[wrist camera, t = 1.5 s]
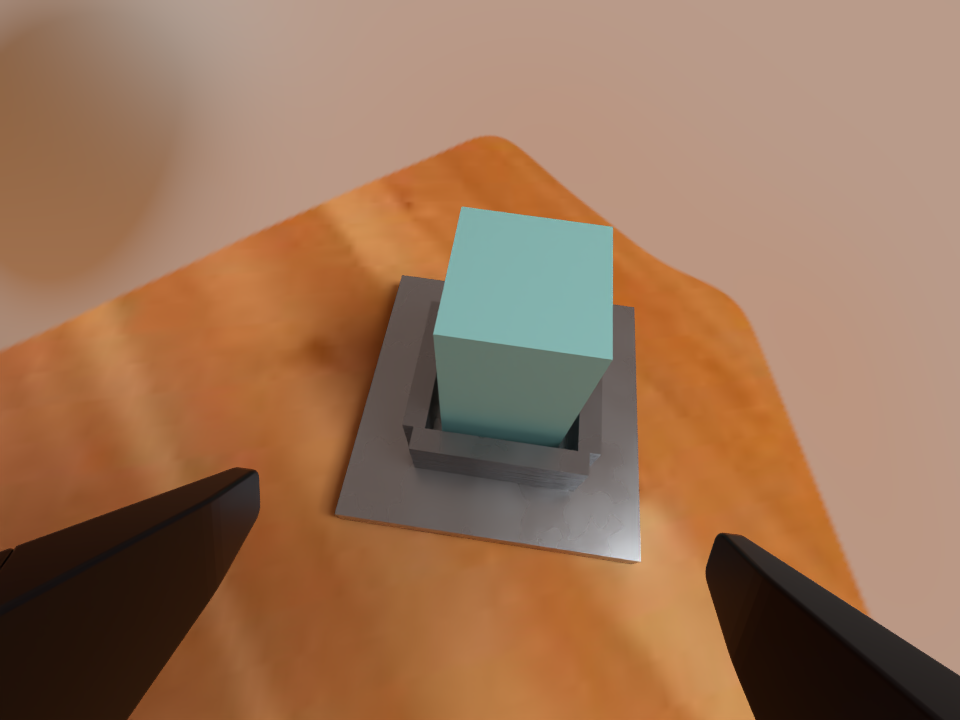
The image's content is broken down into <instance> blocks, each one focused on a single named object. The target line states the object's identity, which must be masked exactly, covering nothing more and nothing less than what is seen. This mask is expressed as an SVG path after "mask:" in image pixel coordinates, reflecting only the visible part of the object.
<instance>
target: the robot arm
mask: <svg viewBox="0 0 960 720" xmlns="http://www.w3.org/2000/svg"><path fill="white" fill-rule="evenodd" d="M259 510H260V489H259V475H258V472H257V471H256V470H253V469H246V468H239V467H236V468H232V469H229V470H226V471H224V472H221V473H218V474H215V475H212V476H210V477H207V478H204V479H201V480H199V481H196V482H193V483H190V484H187V485H185V486H182V487H179V488H176V489H174V490H171V491H168V492H165V493H162V494H160V495H157V496H154V497H151V498H149V499H146V500H143V501H140V502H137V503H135V504H132V505H129V506H126V507H124V508H121V509H118V510H115V511H112V512H110V513H107V514H104V515H101V516H99V517H96V518H93V519H90V520H87V521H85V522H82V523H79V524H76V525H74V526H71V527H68V528H65V529H62V530H60V531H57V532H54V533H51V534H49V535H46V536H43V537H40V538H37V539H35V540H32V541H29V542H26V543H24V544H21V545H18V546H16V547H15V549H14V550H13V549H11V548H10V549H6V550H4V551H1V552H0V720H127V719H128V718H129V716H130V715H131V713H132V712H133V710H134V709H135V708H136V706H137V705H138V703H139V702H140V700H141V699H142V697H143V696H144V695H145V693H146V692H147V690H148V689H149V687H150V686H151V685H152V683H153V682H154V680H155V679H156V677H157V676H158V674H159V673H160V672H161V670H162V669H163V667H164V666H165V664H166V663H167V661H168V660H169V659H170V657H171V656H172V654H173V653H174V651H175V650H176V648H177V647H178V646H179V644H180V643H181V641H182V640H183V638H184V637H185V635H186V634H187V633H188V631H189V630H190V628H191V627H192V625H193V624H194V622H195V621H196V620H197V618H198V617H199V615H200V614H201V612H202V611H203V609H204V608H205V607H206V605H207V604H208V602H209V601H210V599H211V598H212V596H213V595H214V593H215V592H216V590H217V589H218V587H219V585H220V584H221V582H222V580H223V579H224V577H225V575H226V573H227V571H228V570H229V568H230V566H231V564H232V562H233V561H234V559H235V557H236V555H237V553H238V552H239V550H240V548H241V546H242V544H243V543H244V541H245V539H246V537H247V535H248V534H249V532H250V530H251V528H252V526H253V525H254V523H255V521H256V519H257V517H258V514H259ZM706 580H707V584H708V587H709V591H710V594H711V597H712V600H713V604H714V607H715V610H716V613H717V617H718V620H719V623H720V626H721V630H722V633H723V636H724V639H725V643H726V646H727V649H728V652H729V655H730V658H731V661H732V663H733V666H734V668H735V671H736V674H737V676H738V679H739V681H740V683H741V686H742V688H743V691H744V693H745V695H746V698H747V700H748V703H749V705H750V707H751V710H752V712H753V715H754V717H755V719H756V720H960V676H959V675H958V674H956V673H955V672H953V671H951V670H950V669H948V668H947V667H945V666H944V665H942V664H941V663H939V662H938V661H936V660H934V659H933V658H931V657H930V656H928V655H927V654H925V653H924V652H922V651H920V650H919V649H917V648H916V647H914V646H913V645H911V644H910V643H908V642H906V641H905V640H904V639H902V638H900V637H899V636H897V635H896V634H894V633H893V632H891V631H890V630H888V629H886V628H885V627H883V626H882V625H880V624H879V623H877V622H876V621H874V620H873V619H871V618H869V617H868V616H866V615H865V614H863V613H862V612H860V611H859V610H857V609H855V608H854V607H852V606H851V605H849V604H848V603H846V602H845V601H843V600H842V599H840V598H838V597H837V596H835V595H834V594H832V593H831V592H829V591H828V590H826V589H825V588H823V587H821V586H820V585H818V584H817V583H815V582H814V581H812V580H811V579H809V578H807V577H806V576H804V575H803V574H801V573H800V572H798V571H797V570H795V569H794V568H792V567H790V566H789V565H787V564H786V563H784V562H783V561H781V560H780V559H778V558H776V557H775V556H773V555H772V554H770V553H769V552H767V551H766V550H764V549H763V548H761V547H759V546H758V545H756V544H755V543H753V542H752V541H750V540H749V539H747V538H746V537H744V536H741V535H737V534H729V533H720V534H718V535H717V536H716V538H715V540H714V544H713V547H712V550H711V553H710V556H709V559H708V562H707V565H706Z"/></svg>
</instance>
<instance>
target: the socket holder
mask: <svg viewBox="0 0 960 720" xmlns="http://www.w3.org/2000/svg"><path fill="white" fill-rule="evenodd" d="M444 283H445V281H440V280H433V279H426V278H418V277H411V276H404V275H402V278H401V281H400V285H399V288H398V292H397V295H396V299H395V302H394V306H393V310H392V313H391V317H390V320H389V324H388V327H387V331H386V334H385V338H384V341H383V345H382V348H381V352H380V355H379V359H378V363H377V366H376V370H375V373H374V377H373V380H372V384H371V387H370V391H369V394H368V398H367V401H366V405H365V408H364V412H363V416H362V419H361V423H360V426H359V430H358V433H357V437H356V440H355V444H354V447H353V451H352V454H351V458H350V462H349V465H348V469H347V472H346V476H345V479H344V483H343V486H342V490H341V493H340V497H339V500H338V504H337V507H336V511H335V515H336V516H338V517H339V518H340V519H347V520H353V521H359V522H366V523H372V524H379V525H385V526H391V527H398V528H404V529H411V530H417V531H423V532H430V533H436V534H443V535H449V536H456V537H462V538H468V539H475V540H481V541H488V542H494V543H500V544H507V545H513V546H520V547H526V548H533V549H539V550H545V551H552V552H558V553H565V554H571V555H577V556H584V557H590V558H597V559H603V560H609V561H616V562H622V563H629V564H634V563H638V562H641V547H640V510H639V472H638V434H637V396H636V358H635V321H634V307H627V306H620V305H613V360H612V362H611V363H610V365H609V366H608V368H607V370H606V371H605V373H604V374H603V376H602V378H601V379H600V381H599V382H598V384H597V386H596V387H595V389H594V390H593V392H592V394H591V395H590V397H589V398H588V400H587V402H586V403H585V405H584V406H583V408H582V410H581V411H580V413H579V414H578V416H577V418H576V419H575V421H574V422H573V424H572V426H571V427H570V429H569V430H568V432H567V434H566V435H565V437H564V438H563V440H562V442H561V443H560V445H559V446H558V448H554V447H547V446H540V445H534V444H527V443H520V442H513V441H507V440H500V439H493V438H487V437H480V436H473V435H466V434H460V433H453V432H446V431H442V424H441V413H440V403H439V392H438V381H437V370H436V359H435V349H434V338H433V333H434V328H435V324H436V319H437V315H438V310H439V306H440V301H441V297H442V292H443V288H444Z"/></svg>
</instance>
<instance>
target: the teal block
mask: <svg viewBox="0 0 960 720" xmlns="http://www.w3.org/2000/svg"><path fill="white" fill-rule="evenodd" d="M433 338H434V349H435V359H436V370H437V381H438V392H439V403H440V413H441V424H442V431H446V432H453V433H460V434H466V435H473V436H480V437H487V438H493V439H500V440H507V441H513V442H520V443H527V444H534V445H540V446H547V447H554V448H558V446H559V445H560V443H561V442H562V440H563V438H564V437H565V435H566V434H567V432H568V430H569V429H570V427H571V426H572V424H573V422H574V421H575V419H576V418H577V416H578V414H579V413H580V411H581V410H582V408H583V406H584V405H585V403H586V402H587V400H588V398H589V397H590V395H591V394H592V392H593V390H594V389H595V387H596V386H597V384H598V382H599V381H600V379H601V378H602V376H603V374H604V373H605V371H606V370H607V368H608V366H609V365H610V363H611V362H612V360H613V227H609V226H602V225H594V224H587V223H579V222H572V221H564V220H557V219H549V218H542V217H535V216H527V215H520V214H512V213H505V212H497V211H490V210H482V209H475V208H467V207H462V208H461V212H460V216H459V221H458V225H457V230H456V234H455V239H454V243H453V248H452V252H451V257H450V261H449V266H448V270H447V275H446V279H445V283H444V288H443V292H442V297H441V301H440V306H439V310H438V315H437V319H436V324H435V328H434V333H433Z"/></svg>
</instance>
